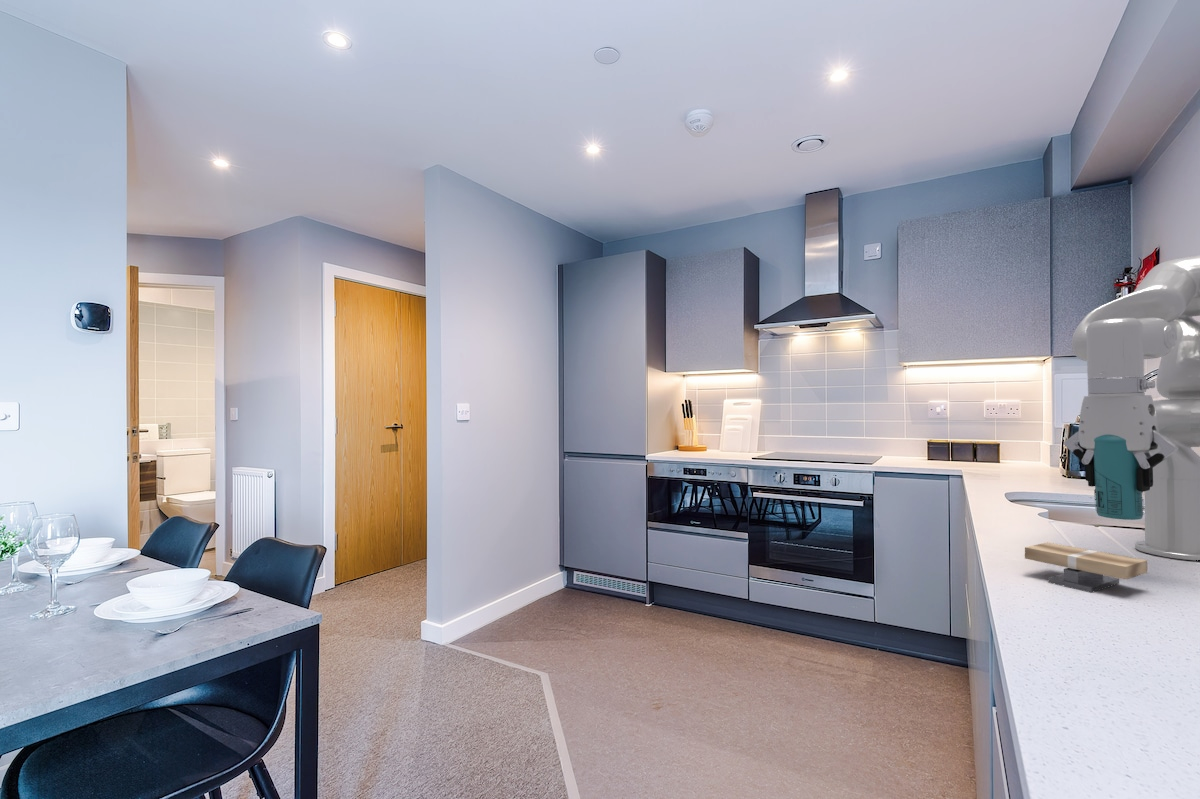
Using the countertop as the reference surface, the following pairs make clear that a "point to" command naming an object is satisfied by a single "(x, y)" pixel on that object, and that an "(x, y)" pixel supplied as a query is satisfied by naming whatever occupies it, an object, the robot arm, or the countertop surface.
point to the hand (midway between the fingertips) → (1118, 487)
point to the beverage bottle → (1116, 479)
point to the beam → (1087, 560)
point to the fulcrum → (1083, 580)
